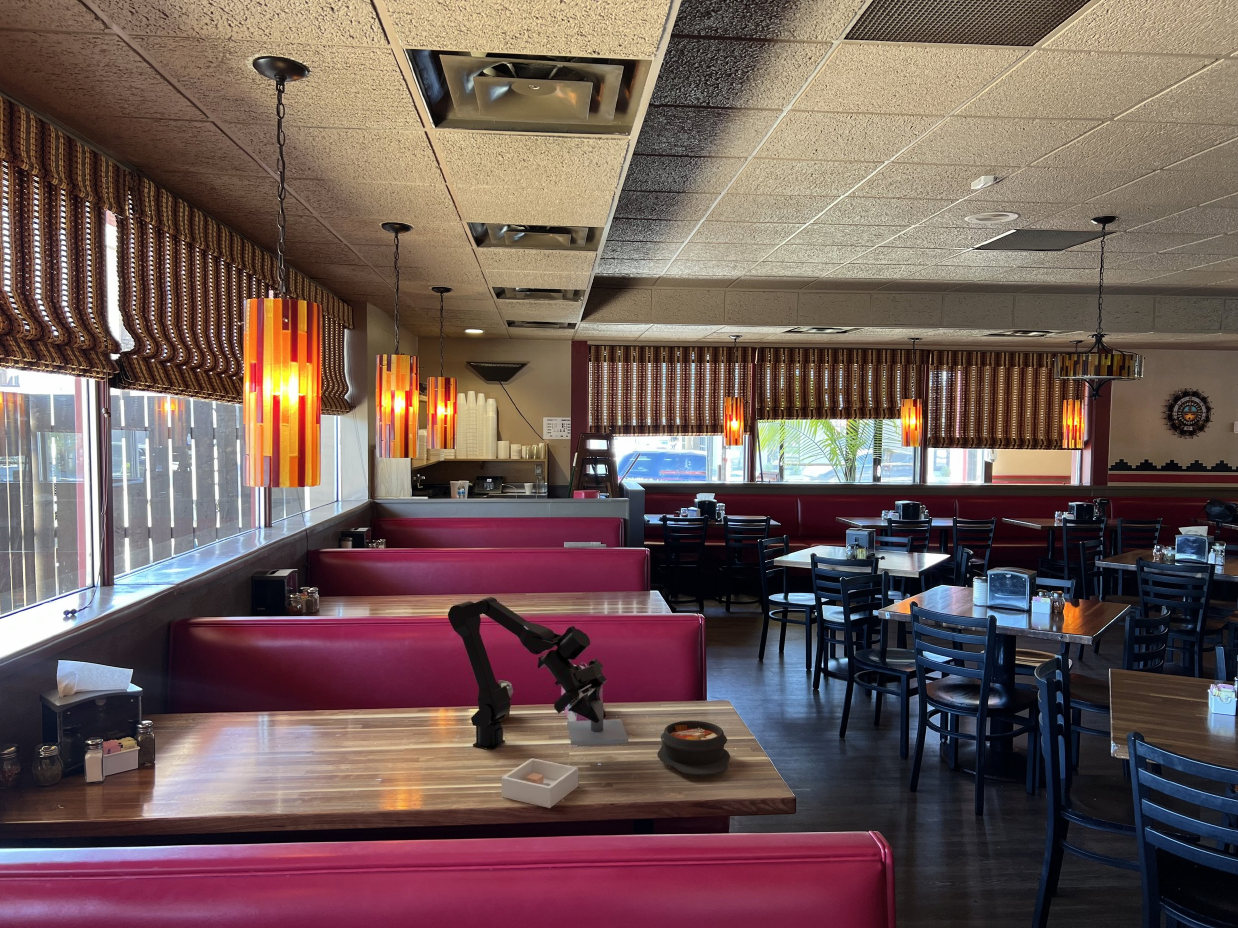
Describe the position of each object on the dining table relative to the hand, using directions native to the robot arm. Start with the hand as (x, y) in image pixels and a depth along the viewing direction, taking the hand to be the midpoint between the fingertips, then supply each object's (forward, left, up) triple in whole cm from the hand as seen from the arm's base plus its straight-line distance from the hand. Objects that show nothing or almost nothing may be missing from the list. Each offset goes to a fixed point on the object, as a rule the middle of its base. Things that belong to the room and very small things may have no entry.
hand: (601, 719), depth 211 cm
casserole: (+19, +14, -12) cm, 27 cm away
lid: (-1, 0, -4) cm, 4 cm away
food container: (-42, +18, -12) cm, 48 cm away
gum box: (-22, +29, -12) cm, 39 cm away
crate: (-6, -19, -12) cm, 23 cm away
